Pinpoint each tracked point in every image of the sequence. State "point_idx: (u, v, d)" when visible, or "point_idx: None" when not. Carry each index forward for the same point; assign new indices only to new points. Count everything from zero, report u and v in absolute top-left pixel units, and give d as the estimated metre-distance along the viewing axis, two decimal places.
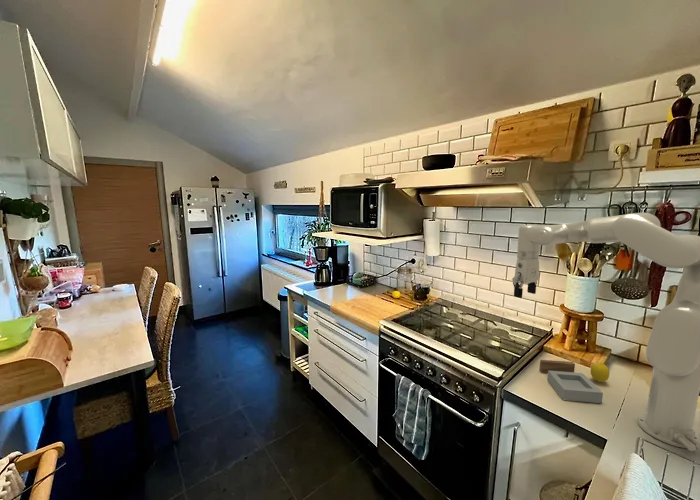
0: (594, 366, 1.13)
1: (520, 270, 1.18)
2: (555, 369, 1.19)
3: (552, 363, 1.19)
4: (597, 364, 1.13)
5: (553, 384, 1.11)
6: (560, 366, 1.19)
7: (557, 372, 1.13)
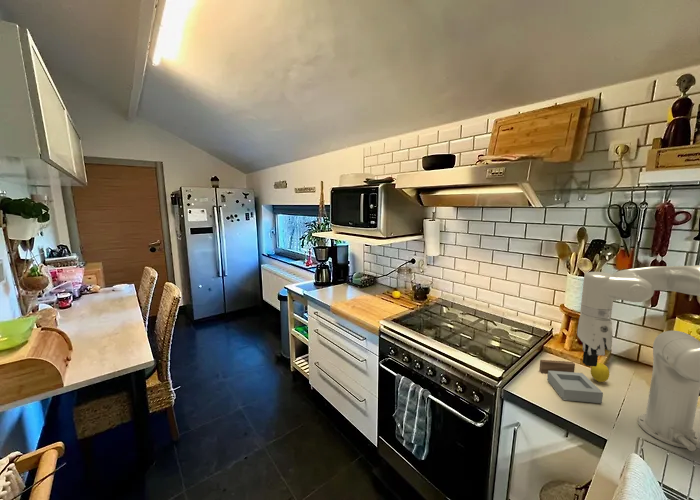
0: (594, 366, 1.13)
1: (605, 335, 0.89)
2: (555, 369, 1.19)
3: (552, 363, 1.19)
4: (597, 364, 1.13)
5: (553, 384, 1.11)
6: (560, 366, 1.19)
7: (557, 372, 1.13)
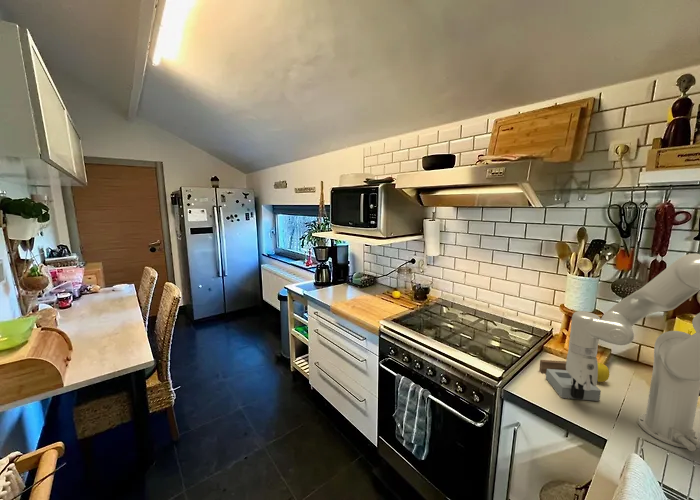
0: None
1: (591, 372, 0.95)
2: None
3: (552, 363, 1.19)
4: None
5: (551, 382, 1.12)
6: (560, 366, 1.19)
7: (555, 370, 1.14)
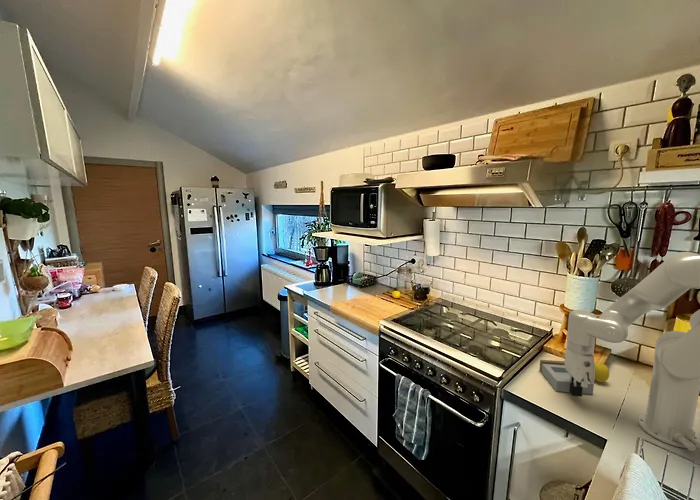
0: None
1: (588, 369, 0.97)
2: None
3: (552, 363, 1.19)
4: (597, 364, 1.13)
5: (547, 376, 1.15)
6: None
7: (551, 365, 1.18)
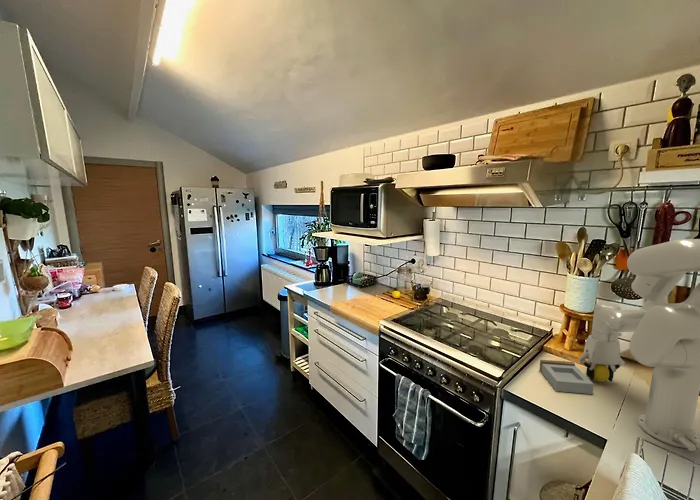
0: None
1: None
2: None
3: (552, 363, 1.19)
4: (597, 364, 1.13)
5: (547, 376, 1.15)
6: None
7: (551, 365, 1.18)
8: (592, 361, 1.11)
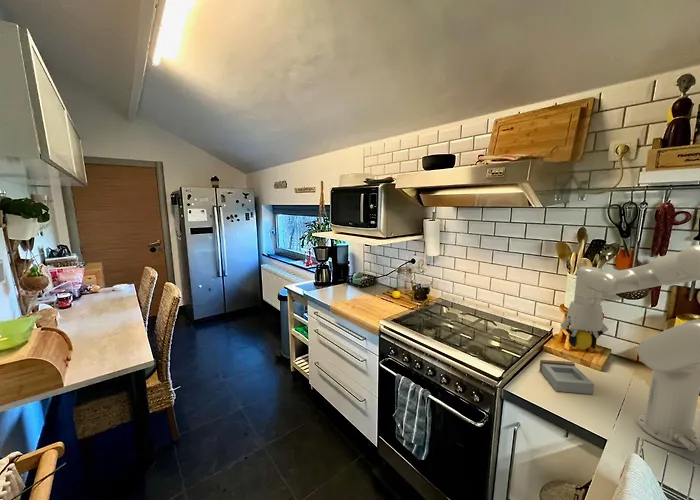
0: (576, 333, 1.11)
1: None
2: None
3: (552, 363, 1.19)
4: (579, 331, 1.11)
5: (547, 376, 1.15)
6: None
7: (551, 365, 1.18)
8: (574, 327, 1.09)
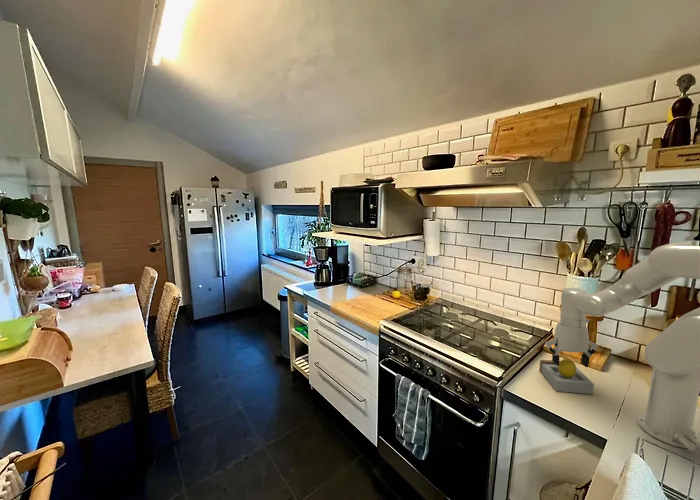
0: (561, 362, 1.12)
1: None
2: None
3: (552, 363, 1.19)
4: (564, 360, 1.12)
5: (547, 376, 1.15)
6: None
7: (551, 365, 1.18)
8: (561, 349, 1.09)
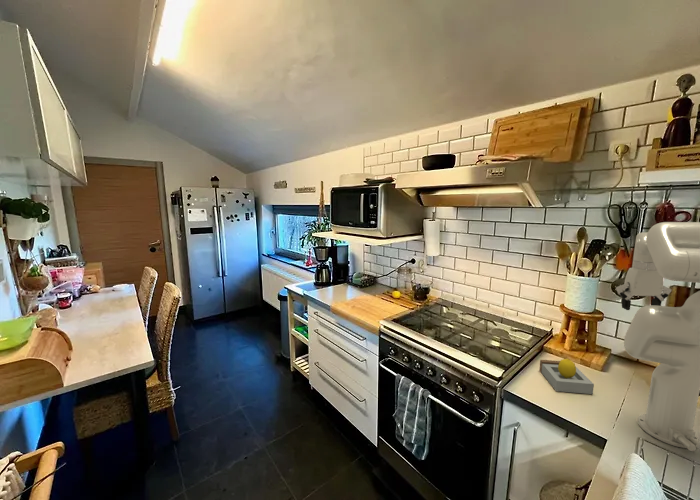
0: (561, 362, 1.12)
1: None
2: None
3: (552, 363, 1.19)
4: (564, 360, 1.12)
5: (547, 376, 1.15)
6: None
7: (551, 365, 1.18)
8: (634, 293, 1.09)
